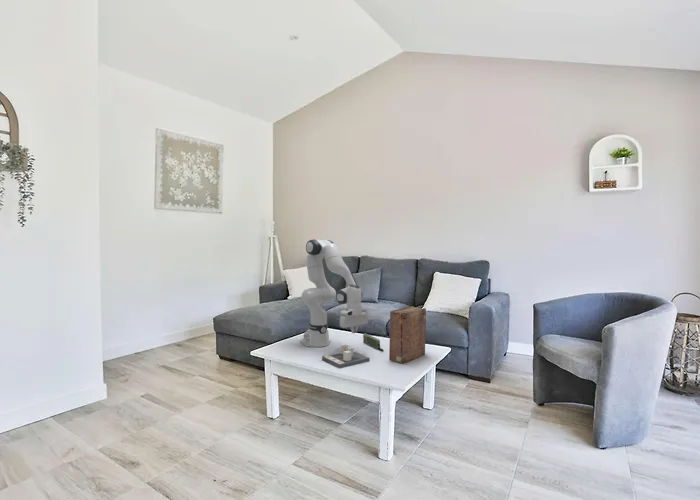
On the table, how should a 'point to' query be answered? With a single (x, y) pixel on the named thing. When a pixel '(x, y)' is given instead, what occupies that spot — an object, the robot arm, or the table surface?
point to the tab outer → (346, 355)
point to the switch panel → (340, 363)
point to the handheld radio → (372, 341)
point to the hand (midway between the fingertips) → (354, 333)
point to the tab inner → (343, 348)
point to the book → (407, 334)
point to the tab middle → (350, 350)
